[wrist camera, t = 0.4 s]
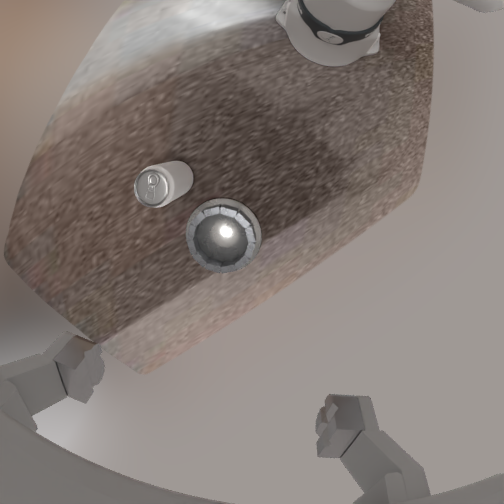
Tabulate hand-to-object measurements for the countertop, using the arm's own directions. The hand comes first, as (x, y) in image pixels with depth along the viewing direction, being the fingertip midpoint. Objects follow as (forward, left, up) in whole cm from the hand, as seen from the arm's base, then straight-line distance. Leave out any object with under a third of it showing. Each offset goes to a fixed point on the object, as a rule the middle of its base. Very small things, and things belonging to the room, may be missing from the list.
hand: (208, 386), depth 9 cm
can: (+3, -16, -45) cm, 48 cm away
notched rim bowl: (+11, -5, -45) cm, 46 cm away
